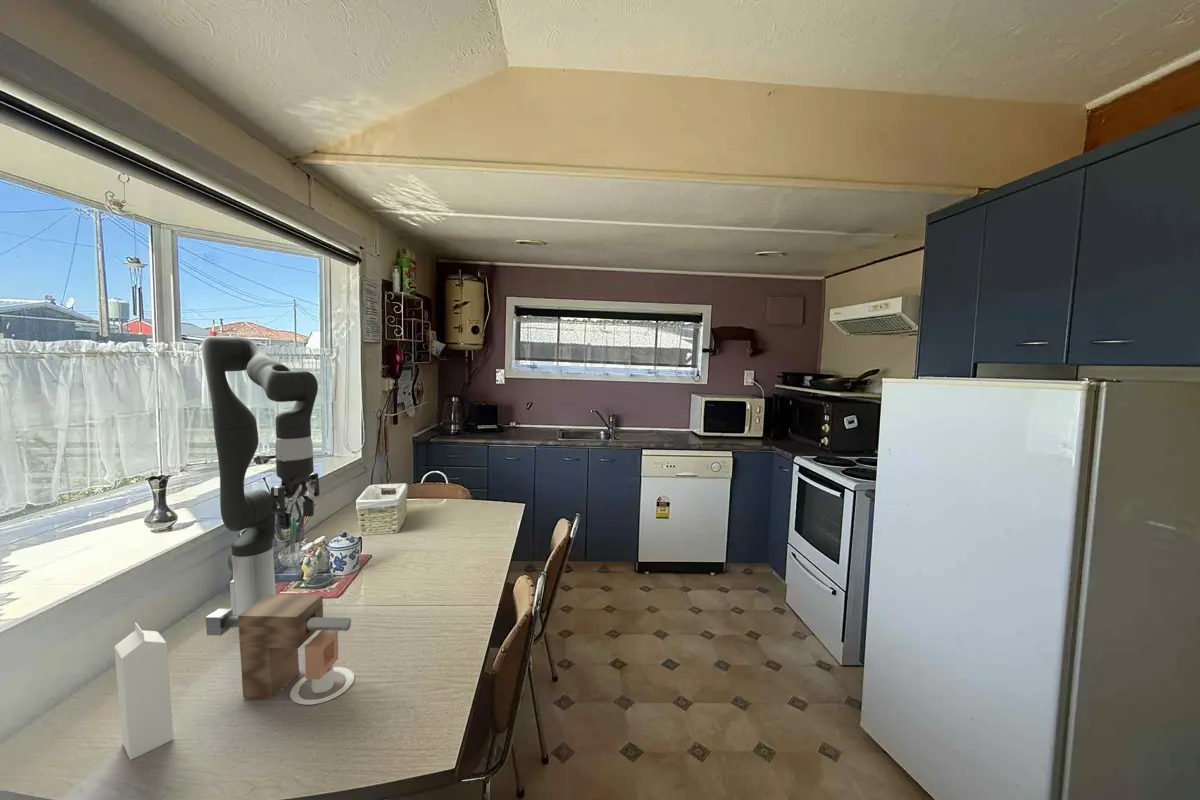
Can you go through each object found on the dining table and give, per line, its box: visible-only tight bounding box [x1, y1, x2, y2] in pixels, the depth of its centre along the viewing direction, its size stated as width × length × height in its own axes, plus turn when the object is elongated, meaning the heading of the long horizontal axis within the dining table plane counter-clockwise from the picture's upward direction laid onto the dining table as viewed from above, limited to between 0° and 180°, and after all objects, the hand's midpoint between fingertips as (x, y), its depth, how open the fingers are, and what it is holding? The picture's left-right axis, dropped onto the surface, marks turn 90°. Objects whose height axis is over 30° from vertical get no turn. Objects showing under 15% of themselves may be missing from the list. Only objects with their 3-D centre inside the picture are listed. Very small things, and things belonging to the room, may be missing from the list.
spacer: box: [304, 630, 339, 680], centre depth 105 cm, size 3×7×7 cm, turn 179°
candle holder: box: [289, 664, 355, 706], centre depth 106 cm, size 12×12×4 cm
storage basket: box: [355, 482, 408, 536], centre depth 203 cm, size 24×16×15 cm
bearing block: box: [238, 593, 324, 701], centre depth 105 cm, size 12×9×18 cm
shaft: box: [205, 608, 352, 637], centre depth 105 cm, size 29×4×4 cm, turn 89°
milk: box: [114, 622, 174, 761], centre depth 89 cm, size 6×6×22 cm
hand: (297, 522), depth 118 cm, fingers open, 8 cm apart
